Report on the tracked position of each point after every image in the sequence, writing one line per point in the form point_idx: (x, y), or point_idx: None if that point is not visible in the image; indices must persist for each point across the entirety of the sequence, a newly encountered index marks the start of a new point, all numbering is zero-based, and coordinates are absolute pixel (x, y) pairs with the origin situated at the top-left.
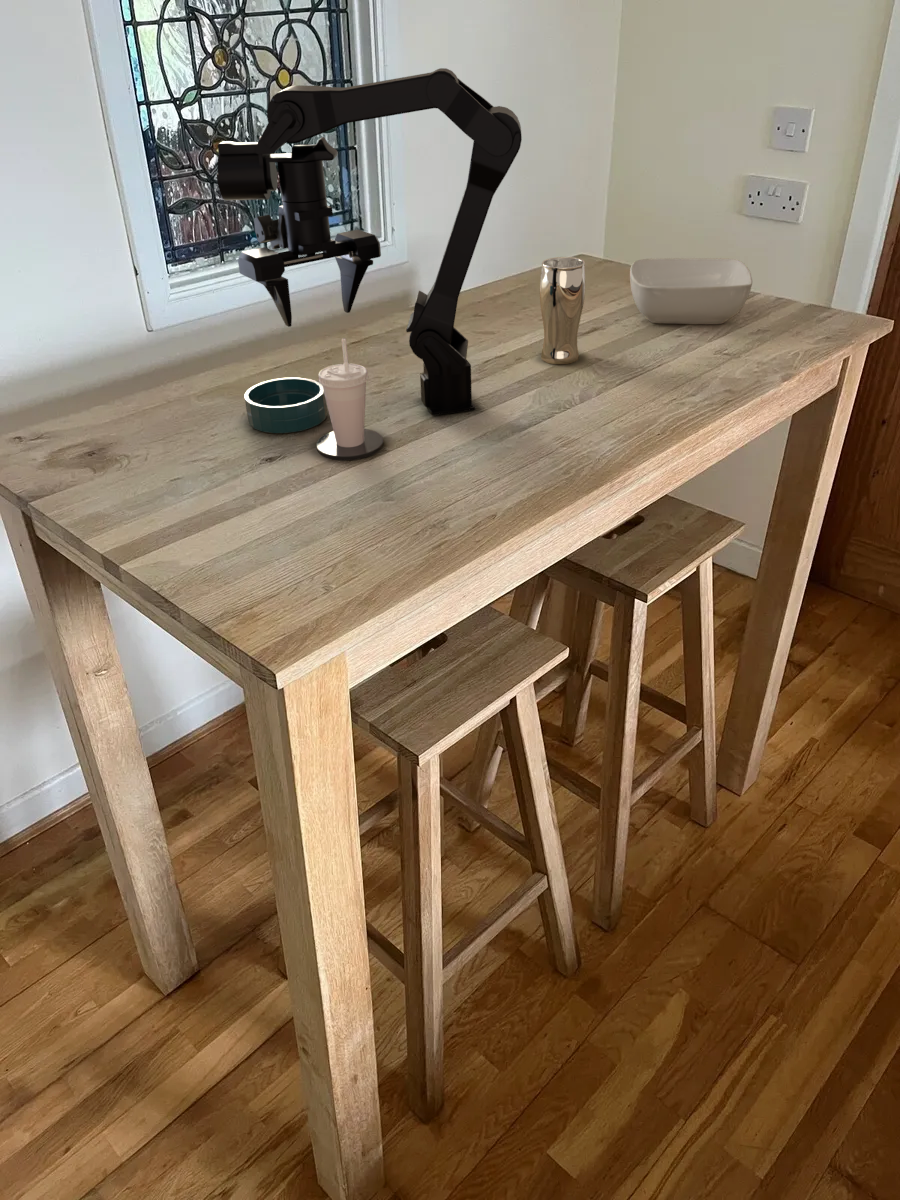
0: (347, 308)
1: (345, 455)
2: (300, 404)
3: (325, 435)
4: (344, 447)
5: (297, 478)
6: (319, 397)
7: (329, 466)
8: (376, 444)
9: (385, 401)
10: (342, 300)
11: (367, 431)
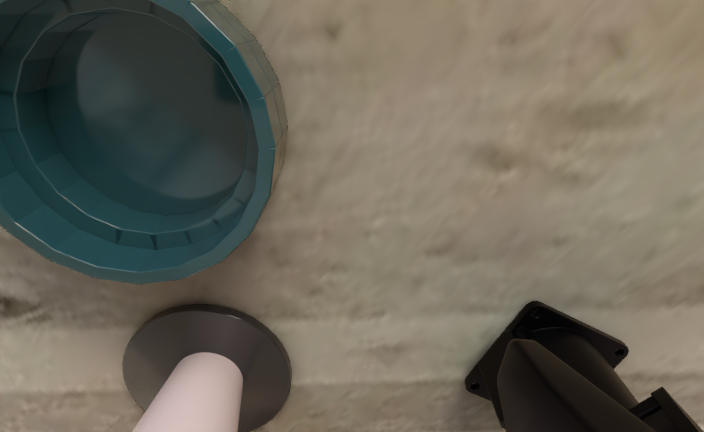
0: (505, 413)
1: None
2: (114, 280)
3: (175, 318)
4: None
5: (34, 408)
6: (201, 270)
7: (119, 410)
8: (249, 422)
9: (462, 231)
10: (548, 396)
11: (274, 366)
